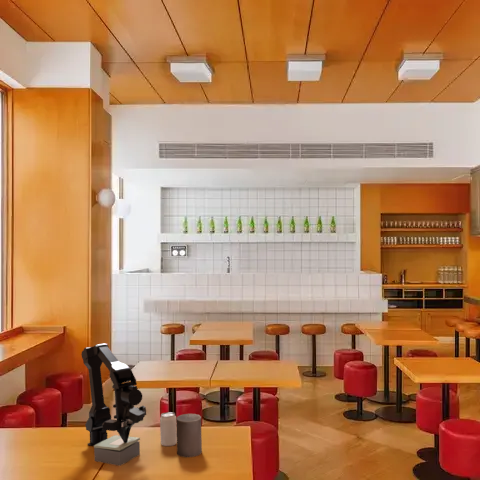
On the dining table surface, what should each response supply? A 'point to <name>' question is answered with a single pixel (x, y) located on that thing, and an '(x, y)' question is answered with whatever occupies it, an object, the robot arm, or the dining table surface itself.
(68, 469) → the dining table surface
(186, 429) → the pillar candle
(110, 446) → the lid
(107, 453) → the storage box
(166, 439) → the can
